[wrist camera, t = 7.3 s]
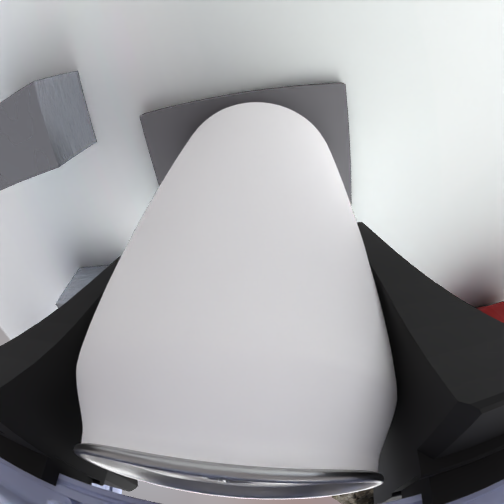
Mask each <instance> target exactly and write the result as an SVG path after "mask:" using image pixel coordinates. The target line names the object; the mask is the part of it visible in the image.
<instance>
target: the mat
mask: <svg viewBox="0 0 504 504" xmlns="http://www.w3.org/2000/svg"><path fill="white" fill-rule="evenodd" d="M249 102H263V103H271V104H276V105H280V106H283V107H286V108H288V109H290V110H293V111H295V112H296V113H298V114H300V115H301V116H303V117H304V118H306V119H307V120H308V121H309V122H310V123H312V124H313V125H314V126H315V128H316V129H317V130H318V131H319V132H320V134H321V135H322V137H323V138H324V140H325V142H326V143H327V145H328V147H329V150H330V152H331V154H332V157H333V159H334V161H335V164H336V166H337V169H338V171H339V174H340V177H341V179H342V182H343V184H344V187H345V190H346V193H347V195H348V198H349V201H350V204H351V160H350V138H349V122H348V108H347V96H346V86H345V84H344V83H328V84H312V85H299V86H288V87H279V88H270V89H262V90H255V91H248V92H242V93H235V94H229V95H224V96H218V97H213V98H208V99H203V100H198V101H193V102H188V103H184V104H180V105H175V106H171V107H167V108H163V109H159V110H155V111H152V112H148V113H144V114H142V115H141V116H140V120H141V124H142V127H143V131H144V135H145V138H146V142H147V146H148V149H149V153H150V156H151V160H152V163H153V167H154V170H155V173H156V177H157V180H158V184H159V186H160V185H161V183H162V181H163V180H164V178H165V176H166V175H167V173H168V171H169V170H170V168H171V167H172V165H173V163H174V162H175V160H176V159H177V157H178V156H179V154H180V153H181V151H182V150H183V148H184V147H185V145H186V144H187V142H188V141H189V139H190V138H191V136H192V135H193V134H194V132H195V131H196V130H197V129H198V127H199V126H200V125H201V124H202V123H203V122H204V121H206V120H207V119H208V118H209V117H211V116H212V115H214V114H215V113H217V112H219V111H221V110H223V109H225V108H227V107H230V106H233V105H237V104H242V103H249Z"/></svg>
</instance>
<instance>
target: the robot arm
mask: <svg viewBox="0 0 504 504" xmlns="http://www.w3.org/2000/svg"><path fill="white" fill-rule="evenodd" d="M357 224H358V227H359V230H360V233H361V237H362V240H363V243H364V246H365V250H366V254H367V257H368V261H369V265H370V268H371V271H372V274H373V278H374V281H375V285H376V288H377V292H378V296H379V299H380V303H381V307H382V311H383V315H384V320H385V324H386V328H387V333H388V338H389V342H390V347H391V352H392V357H393V363H394V370H395V376H396V384H397V403H396V408H395V412H394V416H393V419H392V422H391V425H390V428H389V430H388V433H387V436H386V438H385V441H384V444H383V446H382V449H381V452H380V456H379V462H378V473H380V474H382V475H383V476H384V482H383V483H382V484H381V485H379V486H376V487H374V491H373V496H374V504H504V323H503V322H501V321H499V320H497V319H495V318H493V317H491V316H489V315H487V314H485V313H483V312H482V311H480V310H478V309H476V308H475V307H473V306H471V305H469V304H468V303H466V302H464V301H463V300H461V299H459V298H458V297H456V296H455V295H453V294H451V293H450V292H449V291H447V290H446V289H444V288H443V287H441V286H440V285H438V284H437V283H435V282H434V281H432V280H431V279H430V278H428V277H427V276H426V275H424V274H423V273H422V272H420V271H419V270H418V269H417V268H415V267H414V266H413V265H411V264H410V263H409V262H408V261H406V260H405V259H404V258H403V257H402V256H400V255H399V254H398V253H397V252H396V251H394V250H393V249H392V248H391V247H390V246H389V245H388V244H386V243H385V242H384V241H383V240H382V239H381V238H380V237H378V236H377V235H376V234H375V233H374V232H373V231H372V230H371V229H369V228H368V227H367V226H366V225H365V224H364V223H362V222H358V223H357ZM121 256H122V255H121ZM121 256H120V257H119V258H118V259H116V260H115V261H114V262H113V263H112V264H110V265H109V266H108V267H107V268H106V269H105V270H103V271H102V272H101V273H100V274H99V275H98V276H97V277H95V278H94V279H93V280H92V281H91V282H90V283H89V284H87V285H86V286H85V287H84V288H83V289H81V290H80V291H79V292H78V293H77V294H75V295H74V296H73V297H72V298H71V299H70V300H68V301H67V302H66V303H65V304H63V305H62V306H61V307H60V308H58V309H57V310H56V311H54V312H53V313H52V314H50V315H49V316H48V317H46V318H45V319H43V320H42V321H41V322H39V323H38V324H36V325H34V326H33V327H31V328H30V329H28V330H27V331H25V332H24V333H22V334H21V335H19V336H17V337H16V338H14V339H12V340H10V341H9V342H7V343H5V344H4V345H1V346H0V504H160V503H155V502H151V501H146V500H142V499H137V498H133V497H129V496H125V495H122V490H126V491H132V490H134V489H135V488H136V487H137V486H138V482H137V480H136V479H132V478H129V477H126V476H123V475H120V474H117V473H114V472H112V471H109V470H106V469H104V468H101V467H99V466H97V465H94V464H92V463H90V462H88V461H86V460H84V459H82V458H80V457H79V456H77V455H76V454H75V453H74V446H75V445H76V444H80V443H81V441H82V432H83V424H82V416H81V410H80V404H79V398H78V391H77V382H76V366H77V362H78V358H79V354H80V350H81V347H82V345H83V342H84V339H85V336H86V334H87V331H88V328H89V326H90V323H91V321H92V318H93V316H94V314H95V311H96V309H97V307H98V304H99V302H100V300H101V298H102V295H103V293H104V291H105V289H106V287H107V284H108V282H109V280H110V278H111V276H112V274H113V272H114V270H115V268H116V266H117V264H118V262H119V260H120V258H121Z"/></svg>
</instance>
